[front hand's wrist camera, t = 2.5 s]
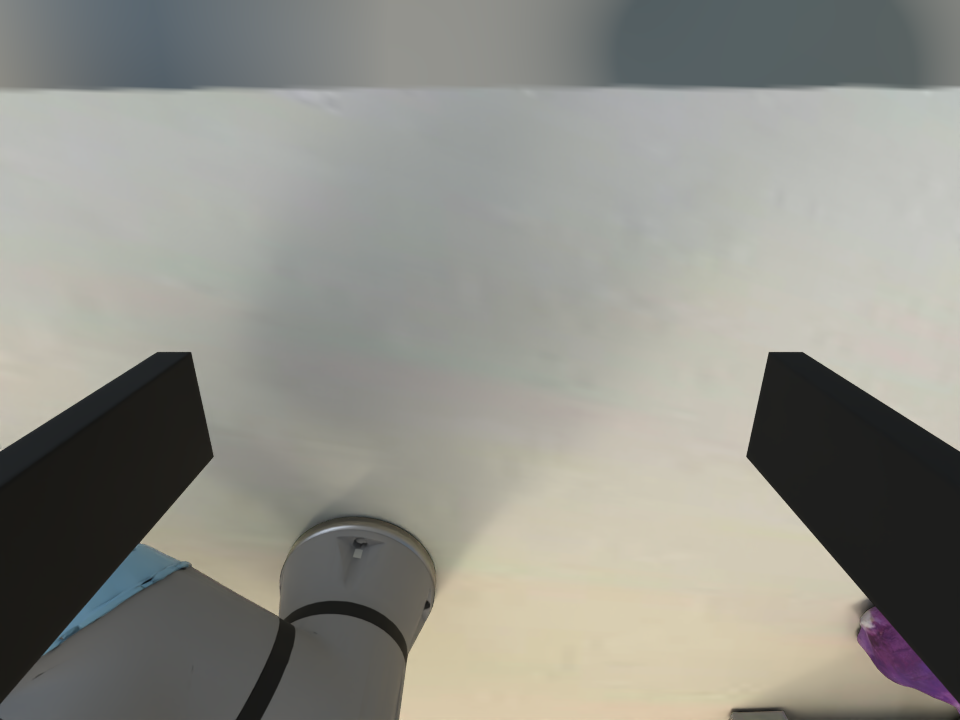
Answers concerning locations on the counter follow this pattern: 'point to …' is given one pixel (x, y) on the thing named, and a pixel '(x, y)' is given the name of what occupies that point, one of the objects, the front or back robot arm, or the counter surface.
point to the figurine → (898, 657)
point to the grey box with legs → (759, 715)
